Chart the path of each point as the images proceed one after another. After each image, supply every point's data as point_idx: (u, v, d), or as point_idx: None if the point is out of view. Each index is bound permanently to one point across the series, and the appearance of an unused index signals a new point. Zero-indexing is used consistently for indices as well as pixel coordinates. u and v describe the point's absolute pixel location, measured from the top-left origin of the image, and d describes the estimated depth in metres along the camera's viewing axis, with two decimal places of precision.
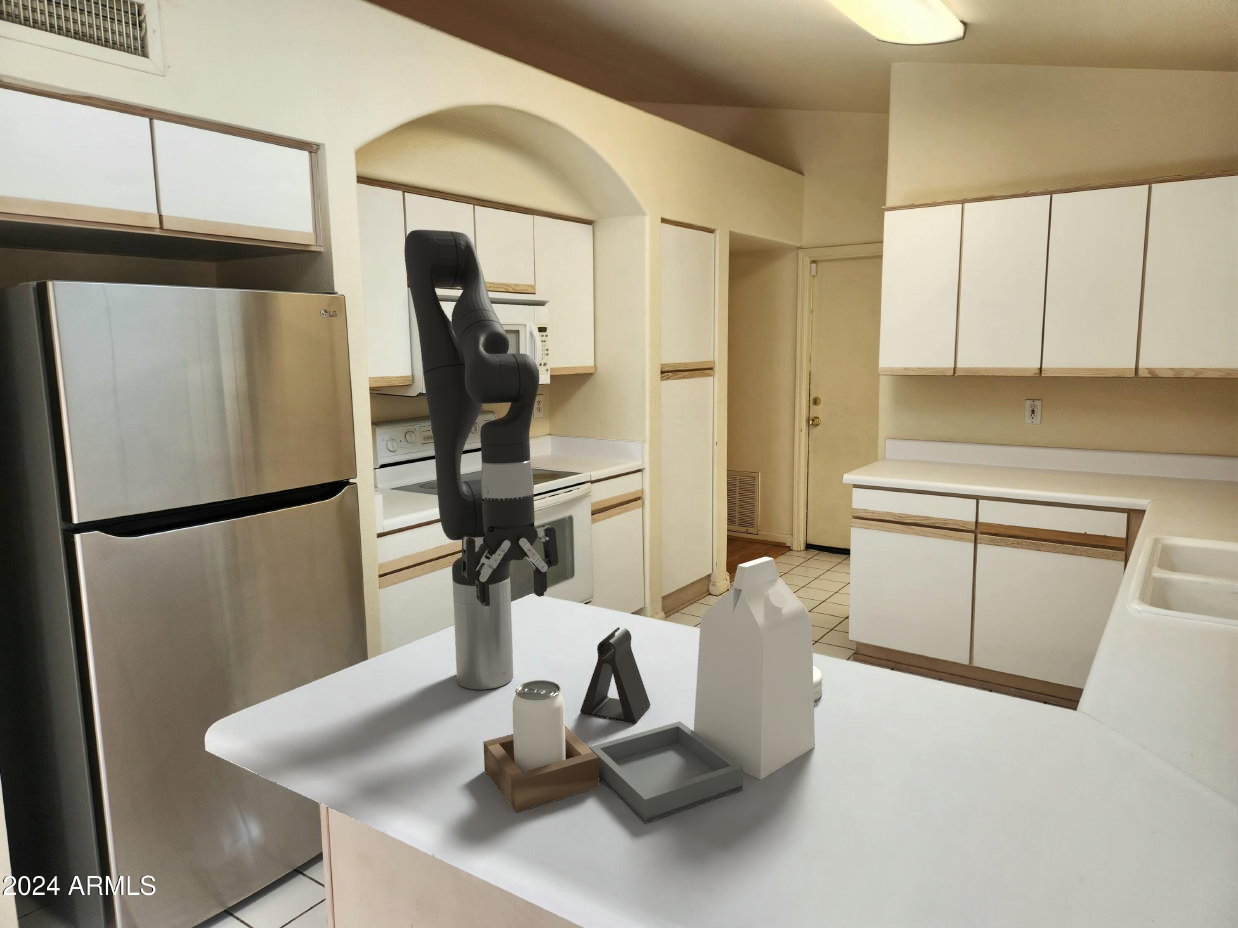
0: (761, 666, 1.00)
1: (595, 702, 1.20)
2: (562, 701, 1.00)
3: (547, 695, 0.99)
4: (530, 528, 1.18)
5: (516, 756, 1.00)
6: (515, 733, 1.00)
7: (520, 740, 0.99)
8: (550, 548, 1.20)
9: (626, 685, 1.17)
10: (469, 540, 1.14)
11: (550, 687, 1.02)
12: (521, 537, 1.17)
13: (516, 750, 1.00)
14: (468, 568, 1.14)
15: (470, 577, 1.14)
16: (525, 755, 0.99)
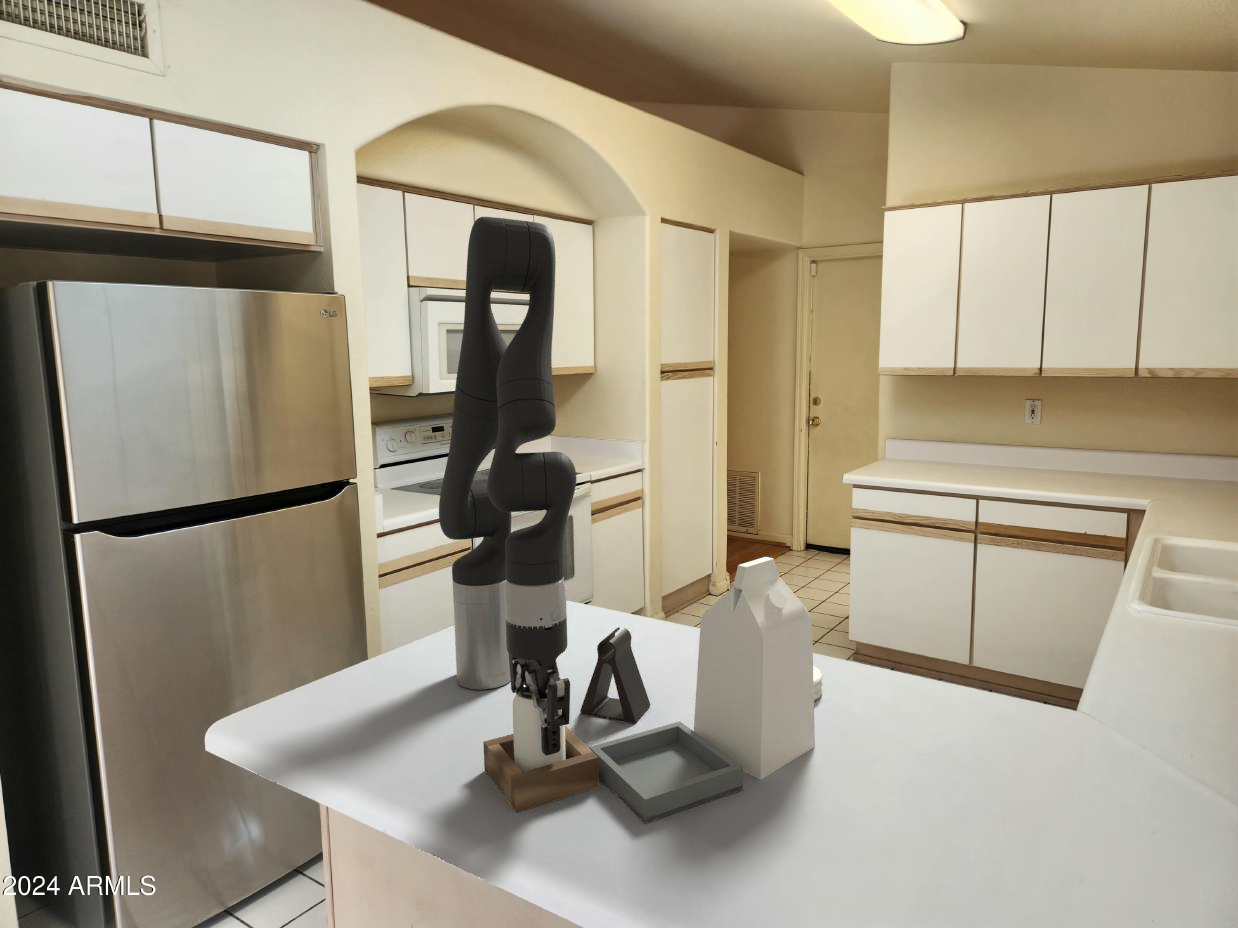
0: (761, 666, 1.00)
1: (595, 702, 1.20)
2: None
3: None
4: None
5: (516, 756, 1.00)
6: (515, 733, 1.00)
7: (520, 740, 0.99)
8: None
9: (626, 685, 1.17)
10: None
11: None
12: None
13: (517, 750, 1.00)
14: None
15: None
16: (525, 755, 0.99)
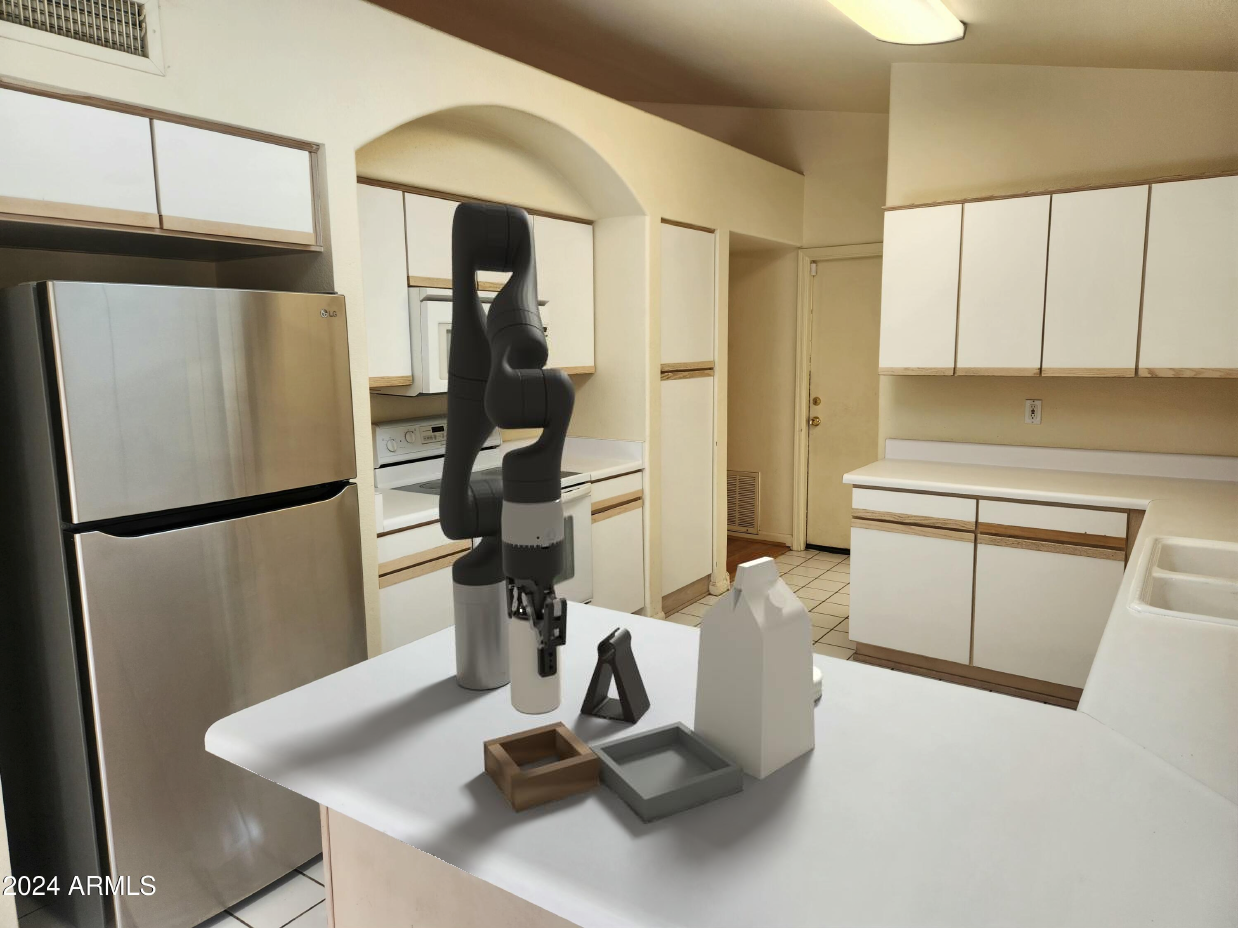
0: (761, 666, 1.00)
1: (595, 702, 1.20)
2: None
3: None
4: None
5: (512, 680, 0.99)
6: (511, 656, 0.98)
7: (516, 662, 0.98)
8: None
9: (626, 685, 1.17)
10: None
11: None
12: None
13: (512, 673, 0.98)
14: (565, 633, 0.94)
15: None
16: (521, 678, 0.97)
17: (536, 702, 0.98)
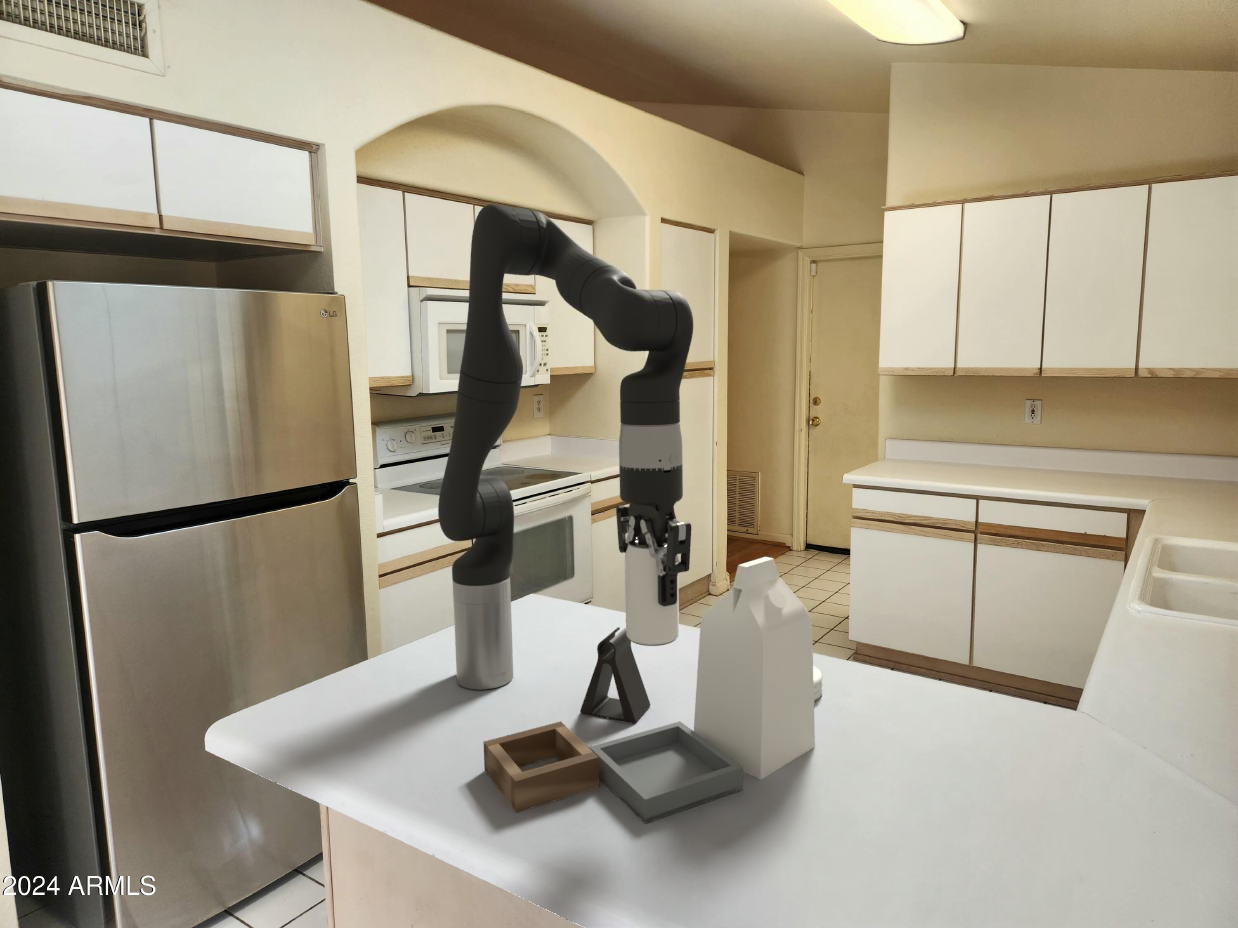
0: (761, 666, 1.00)
1: (595, 702, 1.20)
2: None
3: (662, 547, 0.96)
4: None
5: (629, 611, 0.97)
6: (629, 586, 0.96)
7: (634, 592, 0.95)
8: None
9: (626, 685, 1.17)
10: None
11: None
12: None
13: (630, 604, 0.96)
14: None
15: None
16: (640, 608, 0.95)
17: (655, 633, 0.95)
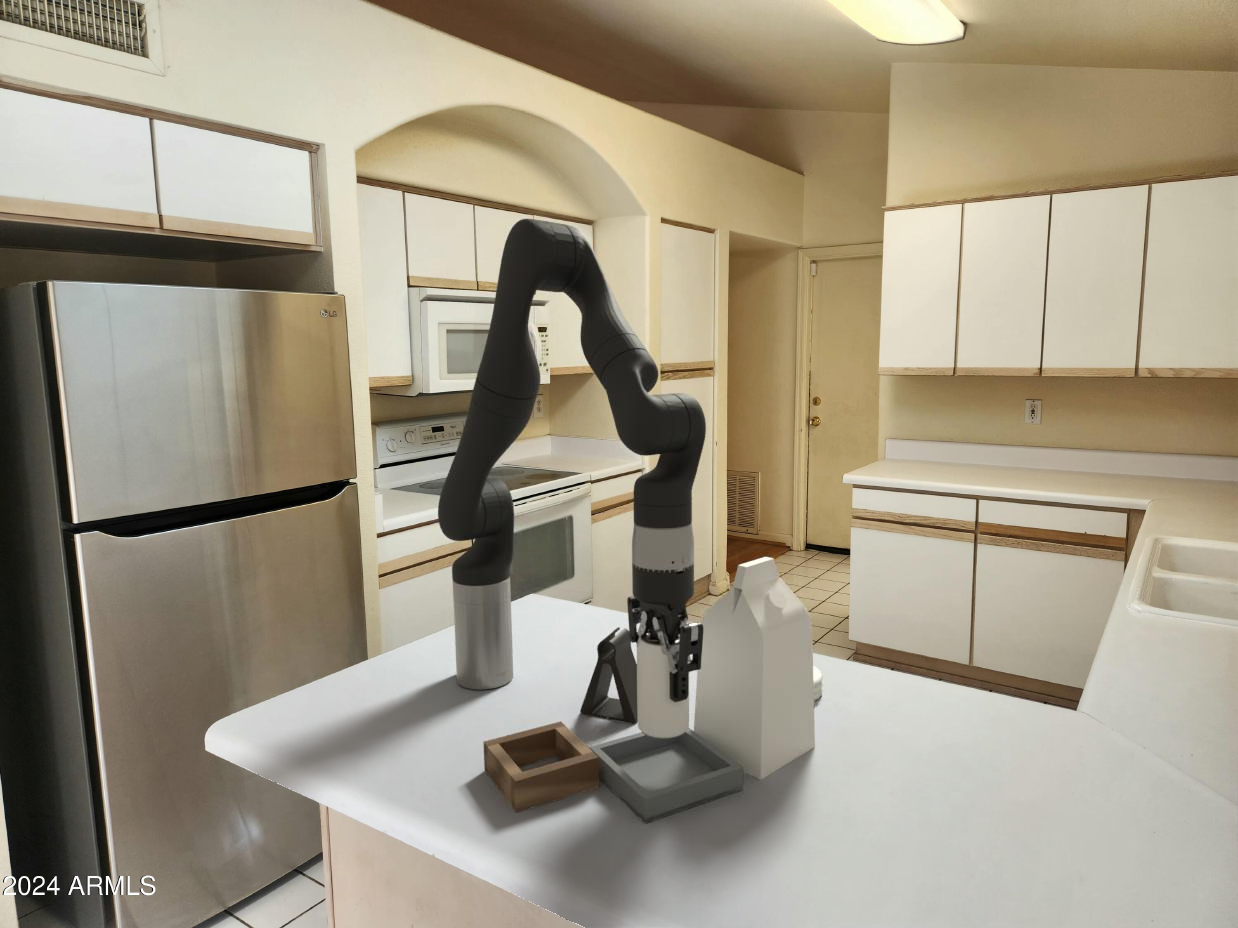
0: (761, 666, 1.00)
1: (595, 702, 1.20)
2: None
3: (674, 642, 0.98)
4: None
5: (641, 704, 0.99)
6: (641, 680, 0.98)
7: (647, 687, 0.98)
8: None
9: (626, 685, 1.17)
10: None
11: None
12: None
13: (642, 698, 0.98)
14: (700, 657, 0.94)
15: None
16: (652, 702, 0.97)
17: (666, 727, 0.98)
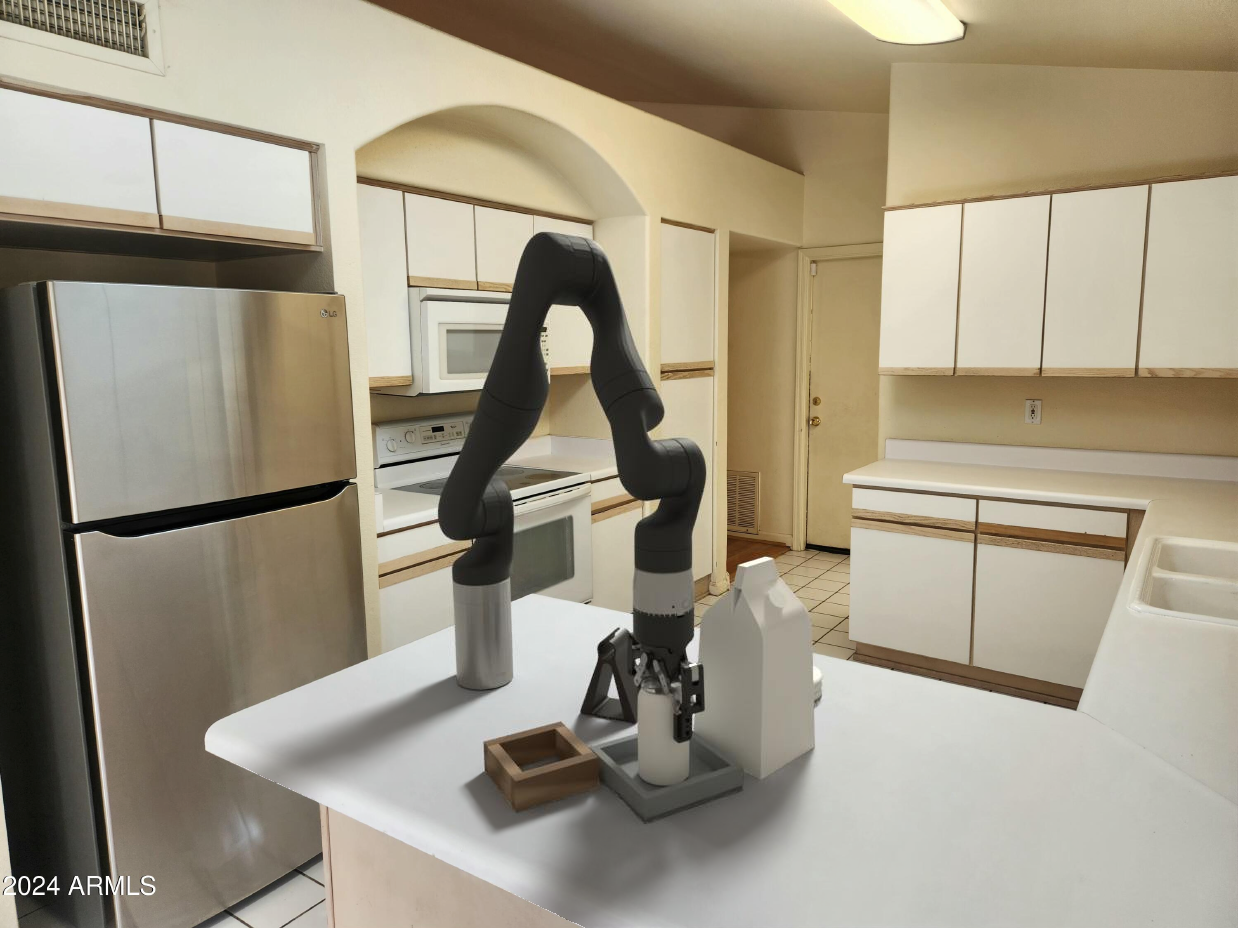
0: (761, 666, 1.00)
1: (595, 702, 1.20)
2: None
3: None
4: None
5: (642, 751, 0.99)
6: (641, 728, 0.99)
7: (647, 735, 0.98)
8: None
9: (626, 685, 1.17)
10: (702, 665, 0.94)
11: (675, 683, 1.01)
12: None
13: (643, 745, 0.99)
14: None
15: None
16: (653, 751, 0.98)
17: (667, 775, 0.98)
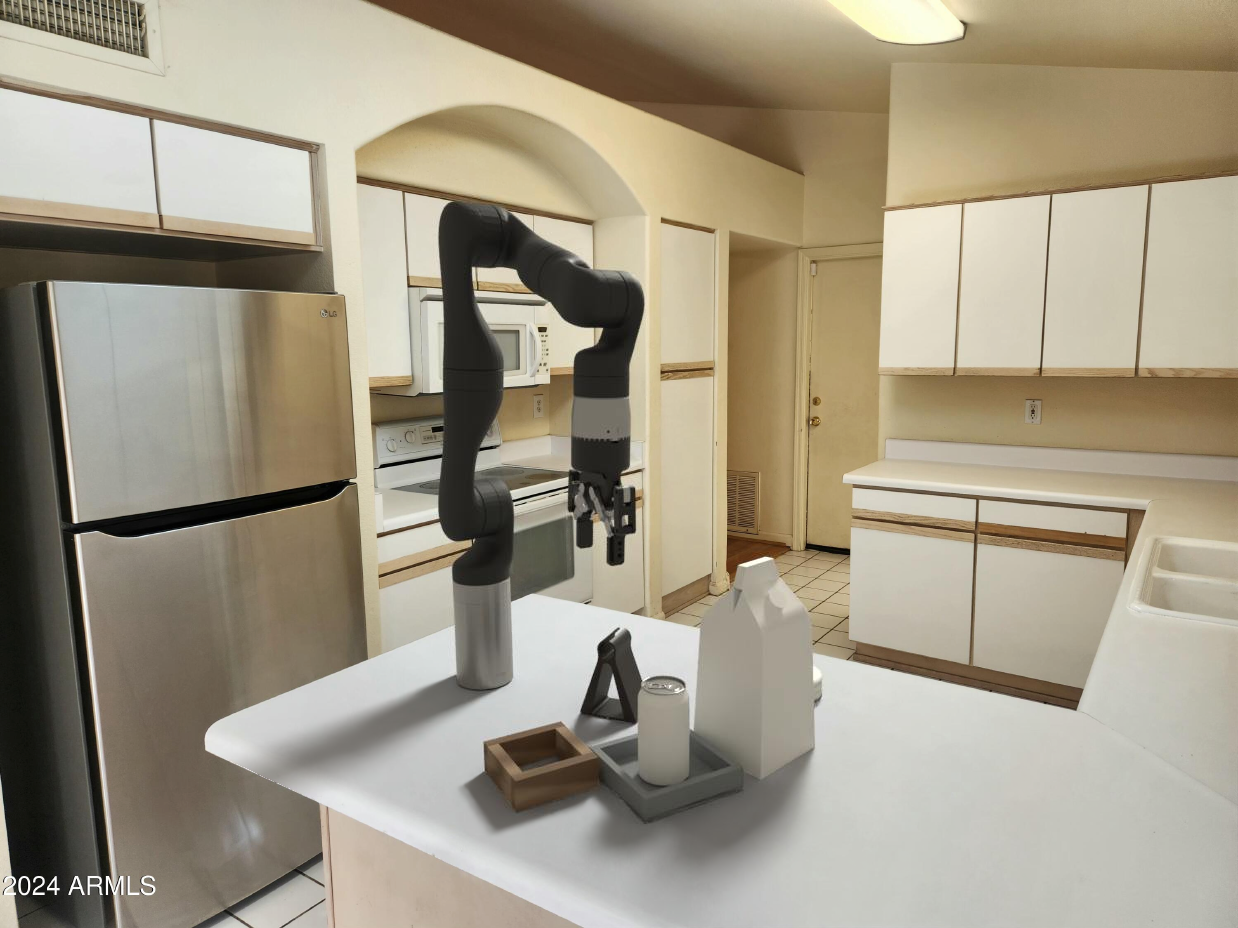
0: (761, 666, 1.00)
1: (595, 702, 1.20)
2: (688, 696, 1.00)
3: (675, 691, 0.99)
4: None
5: (642, 751, 0.99)
6: (641, 728, 0.99)
7: (647, 735, 0.98)
8: None
9: (626, 685, 1.17)
10: None
11: (675, 683, 1.01)
12: None
13: (643, 746, 0.99)
14: None
15: None
16: (653, 751, 0.98)
17: (667, 775, 0.98)
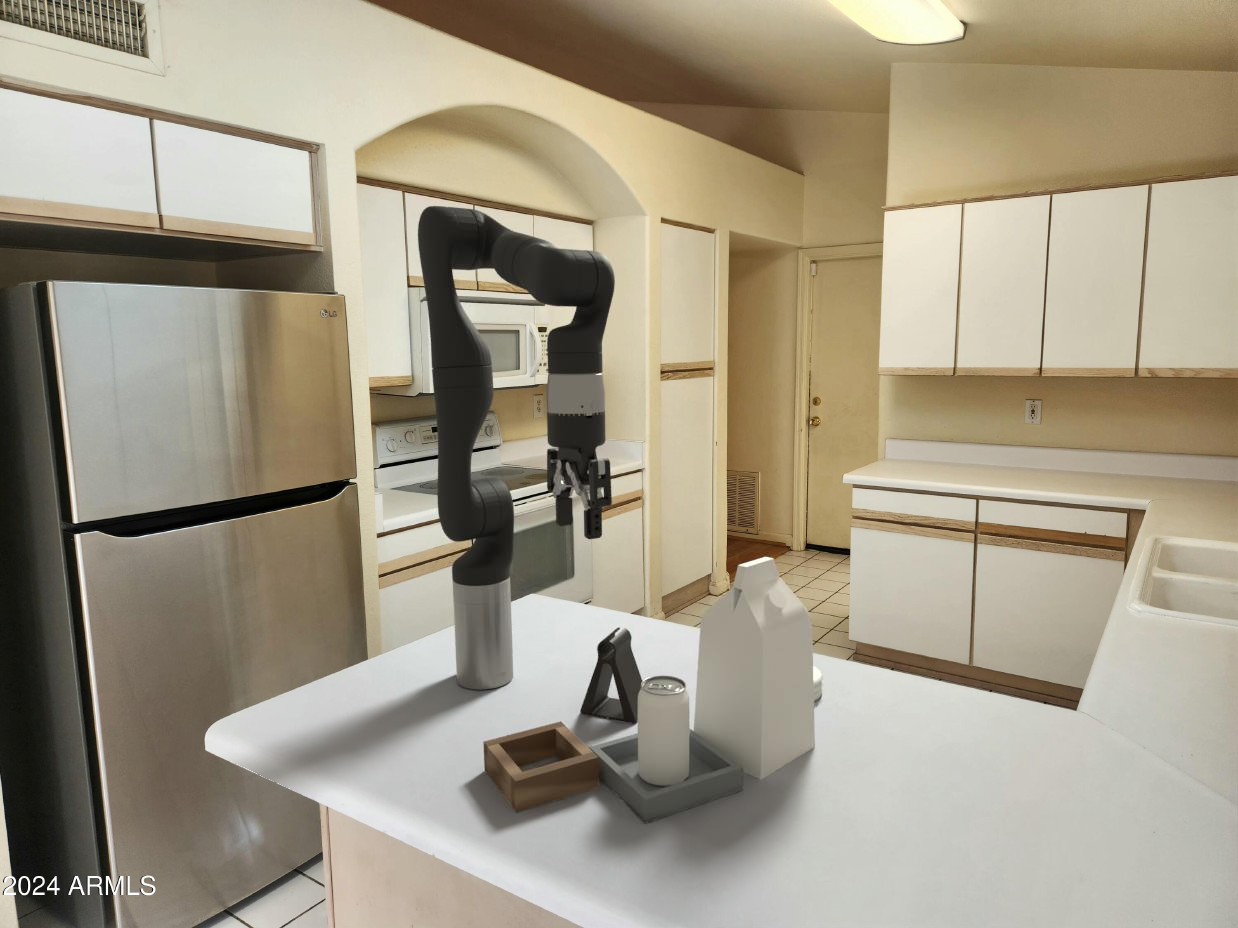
0: (761, 666, 1.00)
1: (595, 702, 1.20)
2: (688, 696, 1.00)
3: (675, 691, 0.99)
4: None
5: (642, 752, 0.99)
6: (641, 728, 0.99)
7: (647, 735, 0.98)
8: None
9: (626, 685, 1.17)
10: (608, 461, 1.00)
11: (675, 683, 1.01)
12: None
13: (643, 746, 0.99)
14: (610, 493, 1.00)
15: None
16: (653, 751, 0.98)
17: (667, 775, 0.98)
